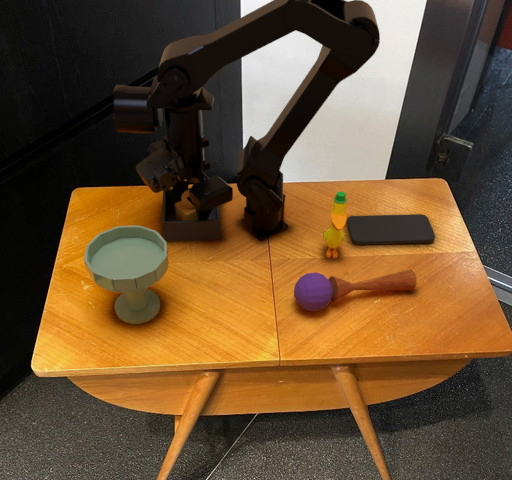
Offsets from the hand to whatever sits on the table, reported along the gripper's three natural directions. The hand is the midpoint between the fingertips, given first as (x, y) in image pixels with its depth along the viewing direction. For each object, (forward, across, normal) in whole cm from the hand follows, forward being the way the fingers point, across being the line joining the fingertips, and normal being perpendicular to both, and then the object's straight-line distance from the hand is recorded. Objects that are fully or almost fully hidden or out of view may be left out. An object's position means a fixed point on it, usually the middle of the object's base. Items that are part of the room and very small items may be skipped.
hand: (192, 213), depth 98 cm
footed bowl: (+2, +13, -18) cm, 23 cm away
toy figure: (+2, +21, +15) cm, 26 cm away
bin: (+2, 0, 0) cm, 2 cm away
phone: (+2, +22, +28) cm, 36 cm away
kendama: (+2, +31, +12) cm, 33 cm away
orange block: (+2, 0, 0) cm, 2 cm away
